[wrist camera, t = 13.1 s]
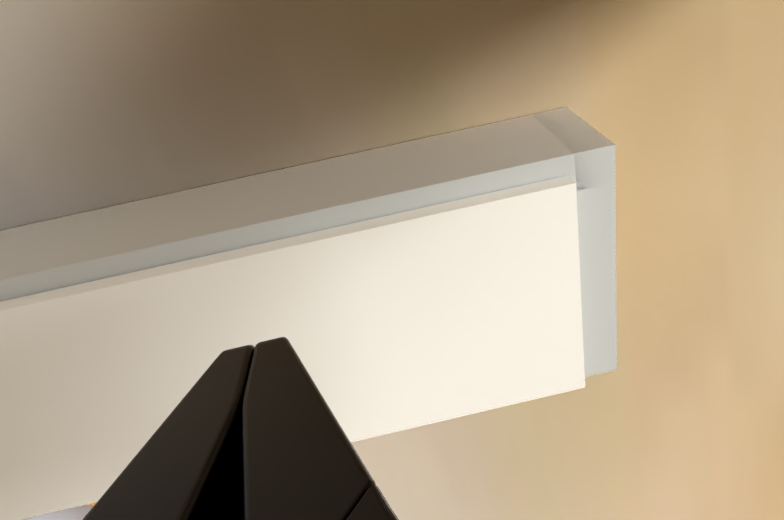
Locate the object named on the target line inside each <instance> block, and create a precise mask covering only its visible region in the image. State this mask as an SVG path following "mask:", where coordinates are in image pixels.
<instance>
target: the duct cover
mask: <svg viewBox="0 0 784 520" xmlns="http://www.w3.org/2000/svg"><path fill="white" fill-rule="evenodd" d="M279 337H286V338H287V339H288V340H289V342H290V343H291V345H292V347H293V348H294V350H295V351H296V353H297V355H298V356H299V358H300V360H301V361H302V363H303V365H304V366H305V368H306V370H307V371H308V373H309V375H310V376H311V378H312V380H313V381H314V383H315V384H316V386H317V388H318V389H319V391H320V393H321V394H322V396H323V398H324V399H325V401H326V403H327V404H328V406H329V408H330V409H331V411H332V413H333V414H334V416H335V417H336V419H337V421H338V422H339V424H340V426H341V427H342V429H343V431H344V432H345V434H346V436H347V437H348V439H349V441H350V442H355V441H359V440H363V439H368V438H372V437H376V436H380V435H385V434H389V433H393V432H397V431H402V430H406V429H410V428H414V427H419V426H423V425H427V424H432V423H436V422H440V421H444V420H449V419H453V418H457V417H461V416H466V415H470V414H474V413H478V412H483V411H487V410H491V409H495V408H500V407H504V406H508V405H512V404H517V403H521V402H525V401H529V400H534V399H538V398H542V397H546V396H551V395H555V394H559V393H563V392H568V391H572V390H576V389H580V388H585V372H584V349H583V327H582V304H581V281H580V259H579V236H578V213H577V191H576V182H575V181H574V180H573V179H572V178H571V177H570V176H569V175H567V176H563V177H558V178H554V179H549V180H545V181H540V182H536V183H531V184H527V185H522V186H518V187H513V188H509V189H504V190H500V191H495V192H491V193H486V194H482V195H477V196H473V197H468V198H464V199H459V200H455V201H450V202H446V203H441V204H437V205H432V206H428V207H423V208H419V209H414V210H410V211H405V212H401V213H396V214H392V215H387V216H383V217H378V218H374V219H369V220H365V221H360V222H356V223H351V224H347V225H342V226H338V227H333V228H329V229H324V230H320V231H315V232H311V233H306V234H302V235H297V236H293V237H288V238H284V239H279V240H275V241H270V242H266V243H261V244H257V245H252V246H248V247H243V248H239V249H234V250H230V251H226V252H221V253H217V254H212V255H208V256H203V257H199V258H194V259H190V260H185V261H181V262H176V263H172V264H167V265H163V266H158V267H154V268H149V269H145V270H140V271H136V272H131V273H127V274H122V275H118V276H113V277H109V278H104V279H100V280H95V281H91V282H86V283H82V284H77V285H73V286H68V287H64V288H59V289H55V290H50V291H46V292H41V293H37V294H32V295H28V296H23V297H19V298H14V299H10V300H5V301H1V302H0V520H23V519H27V518H32V517H36V516H40V515H44V514H49V513H53V512H57V511H61V510H66V509H70V508H74V507H78V506H83V505H87V504H91V503H95V502H98V500H99V499H100V498H101V497H102V495H103V494H104V493H105V492H106V491H107V489H108V488H109V487H110V486H111V485H112V483H113V482H114V481H115V480H116V479H117V477H118V476H119V475H120V474H121V473H122V471H123V470H124V469H125V468H126V467H127V465H128V464H129V463H130V462H131V461H132V459H133V458H134V457H135V456H136V454H137V453H138V452H139V451H140V450H141V448H142V447H143V446H144V445H145V444H146V442H147V441H148V440H149V439H150V438H151V436H152V435H153V434H154V433H155V432H156V430H157V429H158V428H159V427H160V426H161V424H162V423H163V422H164V421H165V420H166V418H167V417H168V416H169V415H170V413H171V412H172V411H173V410H174V409H175V407H176V406H177V405H178V404H179V403H180V401H181V400H182V399H183V398H184V397H185V395H186V394H187V393H188V392H189V391H190V389H191V388H192V387H193V386H194V385H195V383H196V382H197V381H198V380H199V379H200V377H201V376H202V375H203V374H204V372H205V371H206V370H207V369H208V368H209V366H210V365H211V364H212V363H213V362H214V360H215V359H216V358H217V357H218V356H219V354H221V353H222V352H223V351H225V350H228V349H233V348H237V347H241V346H246V345H253V346H254V347H255V345H256V344H257V343H259V342H263V341H267V340H271V339H275V338H279Z"/></svg>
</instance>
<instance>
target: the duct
mask: <svg viewBox="0 0 784 520" xmlns="http://www.w3.org/2000/svg"><path fill="white" fill-rule="evenodd" d="M567 175H569V176H570V177H571V178H572V179H573V180H574V181H575V182H576V191H577V213H578V236H579V259H580V281H581V304H582V327H583V349H584V372H585V377H588V376H592V375H596V374H601V373H605V372H609V371H613V370H617V326H616V198H615V144H614V143H612V142H611V141H610V140H608V139H607V138H606V137H605V136H603V135H602V134H601V133H599V132H598V131H597V130H595V129H594V128H593V127H592V126H590V125H589V124H588V123H586V122H585V121H584V120H582V119H581V118H580V117H579V116H577V115H576V114H575V113H573V112H572V111H571V110H569V109H568V108H567V107H564V108H559V109H555V110H550V111H545V112H541V113H536V114H532V115H527V116H523V117H518V118H513V119H509V120H504V121H500V122H495V123H491V124H486V125H481V126H477V127H472V128H468V129H463V130H458V131H454V132H449V133H445V134H440V135H436V136H431V137H426V138H422V139H417V140H413V141H408V142H404V143H399V144H394V145H390V146H385V147H381V148H376V149H371V150H367V151H362V152H358V153H353V154H349V155H344V156H339V157H335V158H330V159H326V160H321V161H316V162H312V163H307V164H303V165H298V166H294V167H289V168H284V169H280V170H275V171H271V172H266V173H262V174H257V175H252V176H248V177H243V178H239V179H234V180H229V181H225V182H220V183H216V184H211V185H207V186H202V187H197V188H193V189H188V190H184V191H179V192H175V193H170V194H165V195H161V196H156V197H152V198H147V199H142V200H138V201H133V202H129V203H124V204H120V205H115V206H110V207H106V208H101V209H97V210H92V211H88V212H83V213H78V214H74V215H69V216H65V217H60V218H55V219H51V220H46V221H42V222H37V223H33V224H28V225H23V226H19V227H14V228H10V229H5V230H0V302H1V301H5V300H10V299H14V298H19V297H23V296H28V295H32V294H37V293H41V292H46V291H50V290H55V289H59V288H64V287H68V286H73V285H77V284H82V283H86V282H91V281H95V280H100V279H104V278H109V277H113V276H118V275H122V274H127V273H131V272H136V271H140V270H145V269H149V268H154V267H158V266H163V265H167V264H172V263H176V262H181V261H185V260H190V259H194V258H199V257H203V256H208V255H212V254H217V253H221V252H226V251H230V250H234V249H239V248H243V247H248V246H252V245H257V244H261V243H266V242H270V241H275V240H279V239H284V238H288V237H293V236H297V235H302V234H306V233H311V232H315V231H320V230H324V229H329V228H333V227H338V226H342V225H347V224H351V223H356V222H360V221H365V220H369V219H374V218H378V217H383V216H387V215H392V214H396V213H401V212H405V211H410V210H414V209H419V208H423V207H428V206H432V205H437V204H441V203H446V202H450V201H455V200H459V199H464V198H468V197H473V196H477V195H482V194H486V193H491V192H495V191H500V190H504V189H509V188H513V187H518V186H522V185H527V184H531V183H536V182H540V181H545V180H549V179H554V178H558V177H563V176H567Z"/></svg>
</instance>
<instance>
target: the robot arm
mask: <svg viewBox="0 0 784 520" xmlns="http://www.w3.org/2000/svg"><path fill="white" fill-rule="evenodd" d="M83 520H398V518H397V517H396V515H395V514H394V512H393V511H392V509H391V508H390V506H389V504H388V503H387V501H386V499H385V498H384V496H383V494H382V493H381V491H380V489H379V488H378V487H377V486H376V484H375V482H374V480H373V478H372V477H371V475H370V474H369V472H368V470H367V469H366V467H365V465H364V464H363V462H362V460H361V459H360V457H359V455H358V454H357V452H356V450H355V449H354V447H353V446H352V444H351V442H350V441H349V439H348V437H347V436H346V434H345V432H344V431H343V429H342V427H341V426H340V424H339V422H338V421H337V419H336V417H335V416H334V414H333V413H332V411H331V409H330V408H329V406H328V404H327V403H326V401H325V399H324V398H323V396H322V394H321V393H320V391H319V389H318V388H317V386H316V384H315V383H314V381H313V380H312V378H311V376H310V375H309V373H308V371H307V370H306V368H305V366H304V365H303V363H302V361H301V360H300V358H299V356H298V355H297V353H296V351H295V350H294V348H293V347H292V345H291V343H290V342H289V340H288V339H287V338H286V337H279V338H275V339H271V340H267V341H263V342H259V343H257V344H256V345H255V347H254V346H253V345H246V346H241V347H237V348H233V349H228V350H225V351H223V352H222V353H221V354H219V356H218V357H217V358H216V359H215V360H214V362H213V363H212V364H211V365H210V366H209V368H208V369H207V370H206V371H205V372H204V374H203V375H202V376H201V377H200V379H199V380H198V381H197V382H196V383H195V385H194V386H193V387H192V388H191V389H190V391H189V392H188V393H187V394H186V395H185V397H184V398H183V399H182V400H181V401H180V403H179V404H178V405H177V406H176V407H175V409H174V410H173V411H172V412H171V413H170V415H169V416H168V417H167V418H166V420H165V421H164V422H163V423H162V424H161V426H160V427H159V428H158V429H157V430H156V432H155V433H154V434H153V435H152V436H151V438H150V439H149V440H148V441H147V442H146V444H145V445H144V446H143V447H142V448H141V450H140V451H139V452H138V453H137V454H136V456H135V457H134V458H133V459H132V461H131V462H130V463H129V464H128V465H127V467H126V468H125V469H124V470H123V471H122V473H121V474H120V475H119V476H118V477H117V479H116V480H115V481H114V482H113V483H112V485H111V486H110V487H109V488H108V489H107V491H106V492H105V493H104V494H103V495H102V497H101V498H100V499H99V500H98V502H97V503H96V504H95V505H94V506H93V508H92V509H91V510H90V511H89V512H88V514H87V515H86V516H85V517H84V518H83Z"/></svg>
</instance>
